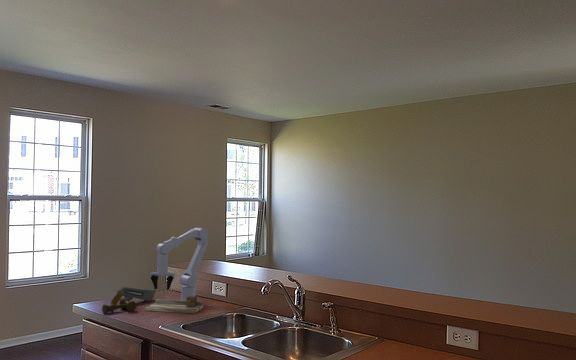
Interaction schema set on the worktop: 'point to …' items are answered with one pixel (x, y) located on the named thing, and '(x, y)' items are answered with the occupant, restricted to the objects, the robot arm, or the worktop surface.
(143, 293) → the gun
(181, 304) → the board
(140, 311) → the worktop surface
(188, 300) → the brown handled block
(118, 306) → the kendama
